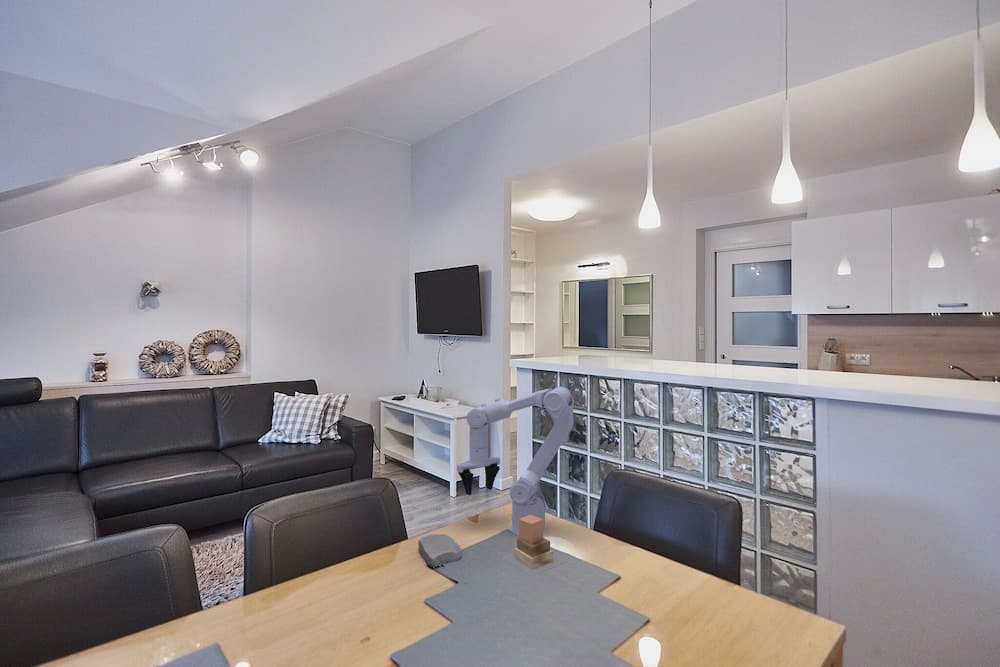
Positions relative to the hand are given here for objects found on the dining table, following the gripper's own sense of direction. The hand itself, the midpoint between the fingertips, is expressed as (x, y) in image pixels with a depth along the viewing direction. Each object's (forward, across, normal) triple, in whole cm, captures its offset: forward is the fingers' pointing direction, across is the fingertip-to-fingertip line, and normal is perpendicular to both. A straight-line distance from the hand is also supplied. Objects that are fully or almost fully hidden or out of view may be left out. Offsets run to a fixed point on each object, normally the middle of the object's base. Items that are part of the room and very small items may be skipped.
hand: (479, 491), depth 150 cm
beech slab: (+9, +2, +28) cm, 30 cm away
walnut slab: (+7, +2, +28) cm, 29 cm away
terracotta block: (+4, +2, +27) cm, 27 cm away
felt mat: (+10, +2, +28) cm, 30 cm away
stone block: (+10, +19, +11) cm, 25 cm away
